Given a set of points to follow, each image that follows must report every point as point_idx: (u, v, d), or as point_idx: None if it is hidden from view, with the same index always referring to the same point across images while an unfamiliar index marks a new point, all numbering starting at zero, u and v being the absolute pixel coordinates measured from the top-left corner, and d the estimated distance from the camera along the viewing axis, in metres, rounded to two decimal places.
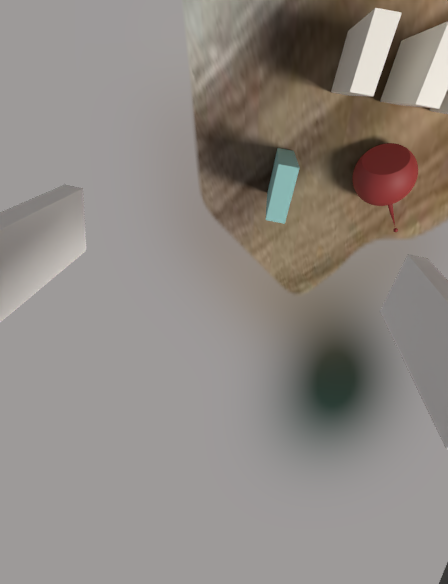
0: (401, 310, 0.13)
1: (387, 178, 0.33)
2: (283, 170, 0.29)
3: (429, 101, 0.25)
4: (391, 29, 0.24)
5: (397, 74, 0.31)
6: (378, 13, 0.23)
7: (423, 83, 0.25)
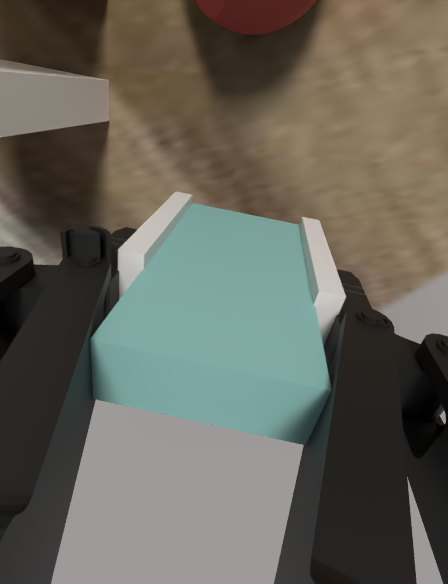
0: None
1: None
2: (111, 386, 0.08)
3: None
4: None
5: None
6: None
7: None
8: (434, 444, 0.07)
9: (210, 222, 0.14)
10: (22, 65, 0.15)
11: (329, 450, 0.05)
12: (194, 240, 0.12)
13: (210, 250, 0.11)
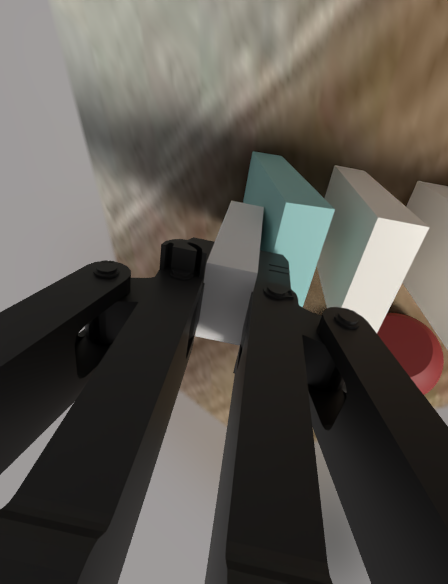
0: None
1: None
2: (297, 216, 0.12)
3: None
4: (408, 250, 0.12)
5: None
6: (383, 226, 0.12)
7: None
8: (339, 415, 0.07)
9: None
10: None
11: (241, 428, 0.05)
12: None
13: None
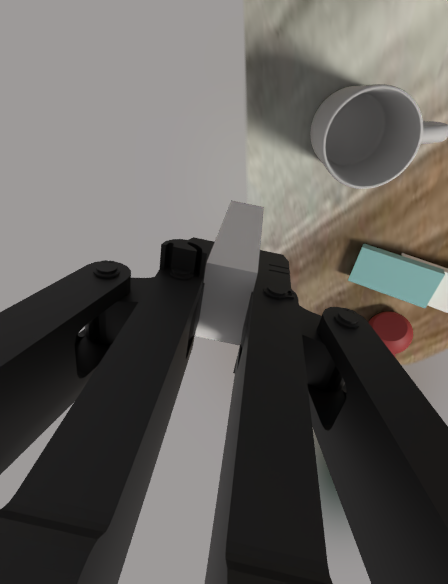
0: None
1: (391, 343, 0.47)
2: None
3: None
4: None
5: None
6: None
7: None
8: (339, 415, 0.07)
9: None
10: None
11: (241, 428, 0.05)
12: None
13: None
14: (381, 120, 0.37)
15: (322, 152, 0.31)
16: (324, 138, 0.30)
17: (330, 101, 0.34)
